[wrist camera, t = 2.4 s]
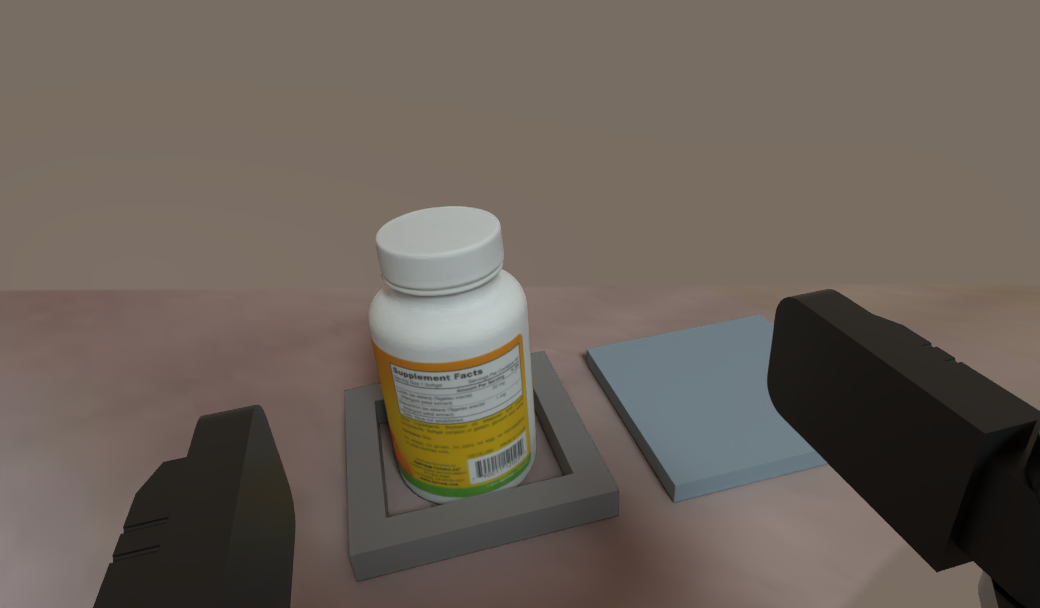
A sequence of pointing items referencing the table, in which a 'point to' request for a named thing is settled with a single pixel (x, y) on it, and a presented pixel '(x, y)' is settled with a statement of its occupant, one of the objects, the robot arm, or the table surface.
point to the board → (702, 406)
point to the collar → (476, 519)
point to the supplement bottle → (453, 354)
